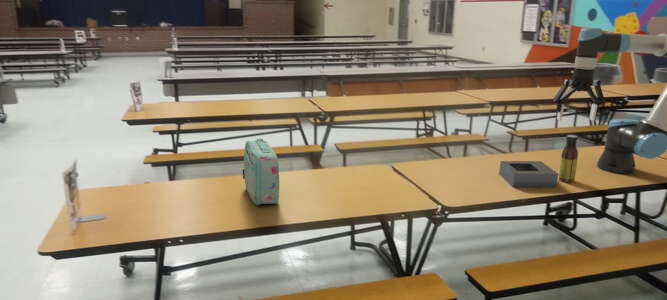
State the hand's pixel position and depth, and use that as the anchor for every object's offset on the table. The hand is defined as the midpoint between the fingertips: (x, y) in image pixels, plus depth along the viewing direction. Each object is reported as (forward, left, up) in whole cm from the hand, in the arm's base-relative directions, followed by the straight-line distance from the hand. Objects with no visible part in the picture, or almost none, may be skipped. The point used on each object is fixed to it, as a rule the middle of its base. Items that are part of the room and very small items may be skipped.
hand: (575, 119), depth 193 cm
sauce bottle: (0, 0, -27) cm, 27 cm away
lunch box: (+128, +17, -27) cm, 132 cm away
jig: (+17, 0, -27) cm, 32 cm away
